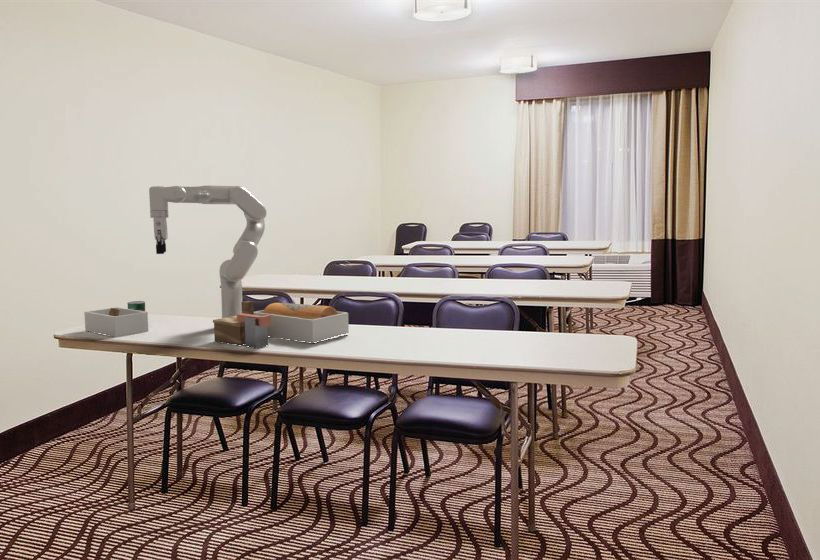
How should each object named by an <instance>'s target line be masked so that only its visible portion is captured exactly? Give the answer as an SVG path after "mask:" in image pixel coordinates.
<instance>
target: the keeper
mask: <svg viewBox="0 0 820 560" xmlns="http://www.w3.org/2000/svg"><path fill="white" fill-rule="evenodd" d="M245 343H246V345H245V347H246V346H249V347H254V348H253V349H255V348H257V349H259V348H258V347H261V348H263V347H262V346H265V347H267V346H266V345H268V346H269V337H268V326H265V327H260V326H259V325H258V319H256V318H249V317H246V318H245ZM249 347H248V348H249Z"/></svg>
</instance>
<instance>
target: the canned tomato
mask: <svg viewBox="0 0 820 560" xmlns="http://www.w3.org/2000/svg"><path fill="white" fill-rule="evenodd" d="M126 303H127V309H131V310H138V311H144V312H146V301H144V300H143V301H142V300H134V301H128V302H126Z"/></svg>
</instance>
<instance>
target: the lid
mask: <svg viewBox="0 0 820 560" xmlns="http://www.w3.org/2000/svg"><path fill="white" fill-rule="evenodd" d="M241 305H242V313H244V314H251V315H254V312H255V311H254V309H255V308H254V301H252V300H251V301H250V300H244V301H242V302H241ZM212 323H213V324H214V323H218V324H224V325H231V326H237V327H242V326H245V323H244V322H237V316H232V317H226V318H222V317H221V318H217V319H212Z"/></svg>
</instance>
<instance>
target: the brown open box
mask: <svg viewBox="0 0 820 560" xmlns="http://www.w3.org/2000/svg"><path fill="white" fill-rule="evenodd" d="M213 329H214V330H213V332H214V337H213V338H214V342H215V341H216V342H217V343H221V342H223V343H222V344H227V343H229V344H228V345H232V344H237V345H236V346H238V345H243V344H246V343H245V326H242V327H237V326H231V325H224V324H218V323H213ZM216 342H215V343H216ZM243 346H244V345H243Z"/></svg>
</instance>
